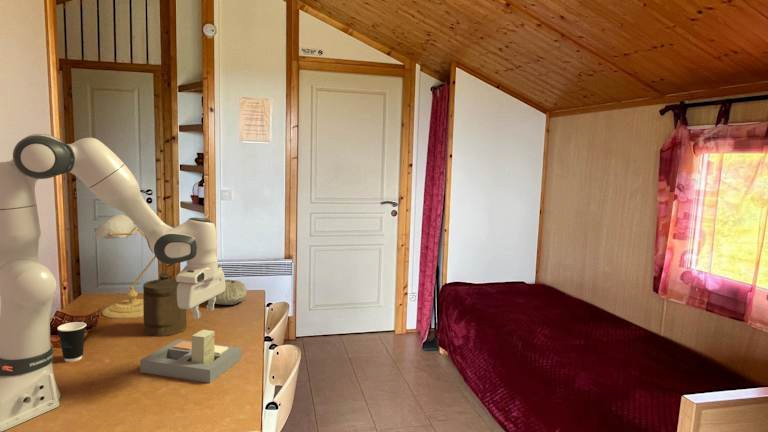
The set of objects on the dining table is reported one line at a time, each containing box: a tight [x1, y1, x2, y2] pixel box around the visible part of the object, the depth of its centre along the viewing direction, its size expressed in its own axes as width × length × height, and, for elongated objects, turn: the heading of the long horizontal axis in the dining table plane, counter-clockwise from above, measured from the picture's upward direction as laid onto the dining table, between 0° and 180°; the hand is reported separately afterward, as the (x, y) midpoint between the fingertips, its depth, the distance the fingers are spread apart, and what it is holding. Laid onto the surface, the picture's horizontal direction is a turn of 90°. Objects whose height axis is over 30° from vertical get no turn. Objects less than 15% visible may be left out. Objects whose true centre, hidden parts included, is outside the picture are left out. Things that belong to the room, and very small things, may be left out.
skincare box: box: [191, 329, 216, 365], centre depth 152 cm, size 6×4×12 cm
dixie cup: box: [56, 321, 87, 363], centre depth 158 cm, size 8×8×11 cm
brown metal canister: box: [142, 272, 187, 337], centre depth 186 cm, size 15×15×22 cm
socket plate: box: [139, 338, 242, 384], centre depth 156 cm, size 18×24×4 cm
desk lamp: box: [92, 214, 157, 320], centre depth 206 cm, size 31×23×40 cm
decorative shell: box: [214, 279, 248, 306], centre depth 222 cm, size 18×18×10 cm
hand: (203, 314), depth 151 cm, fingers open, 6 cm apart
